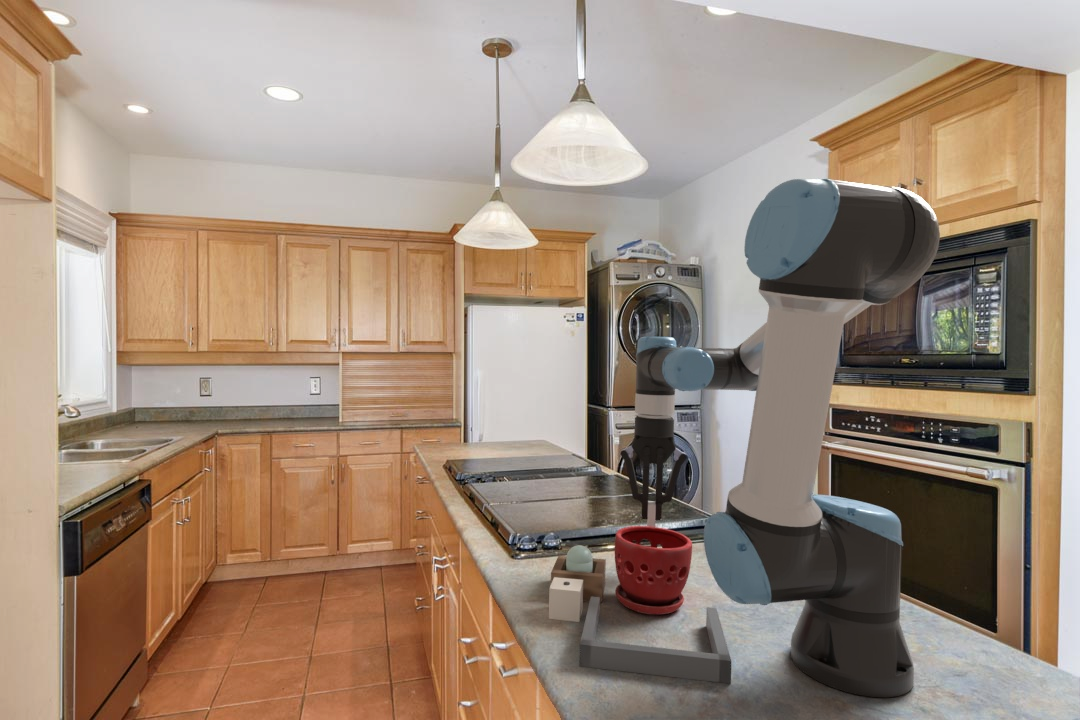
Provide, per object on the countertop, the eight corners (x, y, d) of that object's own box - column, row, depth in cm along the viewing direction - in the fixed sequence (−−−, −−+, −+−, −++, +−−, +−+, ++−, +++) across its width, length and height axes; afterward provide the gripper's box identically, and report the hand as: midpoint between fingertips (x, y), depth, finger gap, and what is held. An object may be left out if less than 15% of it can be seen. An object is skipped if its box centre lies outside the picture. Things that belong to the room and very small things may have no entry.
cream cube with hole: (582, 609, 99) (583, 578, 99) (579, 622, 94) (580, 590, 94) (553, 606, 100) (554, 575, 99) (548, 619, 95) (549, 587, 95)
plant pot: (639, 626, 92) (640, 551, 92) (600, 594, 105) (601, 528, 105) (706, 614, 97) (708, 543, 97) (662, 585, 110) (663, 521, 109)
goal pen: (715, 626, 93) (716, 608, 93) (730, 683, 77) (731, 661, 77) (590, 614, 96) (590, 596, 96) (579, 666, 80) (579, 644, 80)
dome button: (593, 579, 108) (594, 542, 108) (590, 589, 103) (591, 551, 103) (567, 577, 109) (568, 540, 109) (564, 587, 104) (564, 549, 104)
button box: (605, 583, 110) (605, 559, 110) (601, 602, 101) (602, 576, 101) (557, 578, 112) (558, 555, 111) (550, 597, 103) (551, 572, 103)
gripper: (687, 415, 116) (683, 532, 117) (621, 412, 119) (618, 527, 119) (690, 419, 109) (686, 545, 109) (619, 416, 111) (616, 539, 112)
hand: (650, 535), depth 114 cm, fingers closed
